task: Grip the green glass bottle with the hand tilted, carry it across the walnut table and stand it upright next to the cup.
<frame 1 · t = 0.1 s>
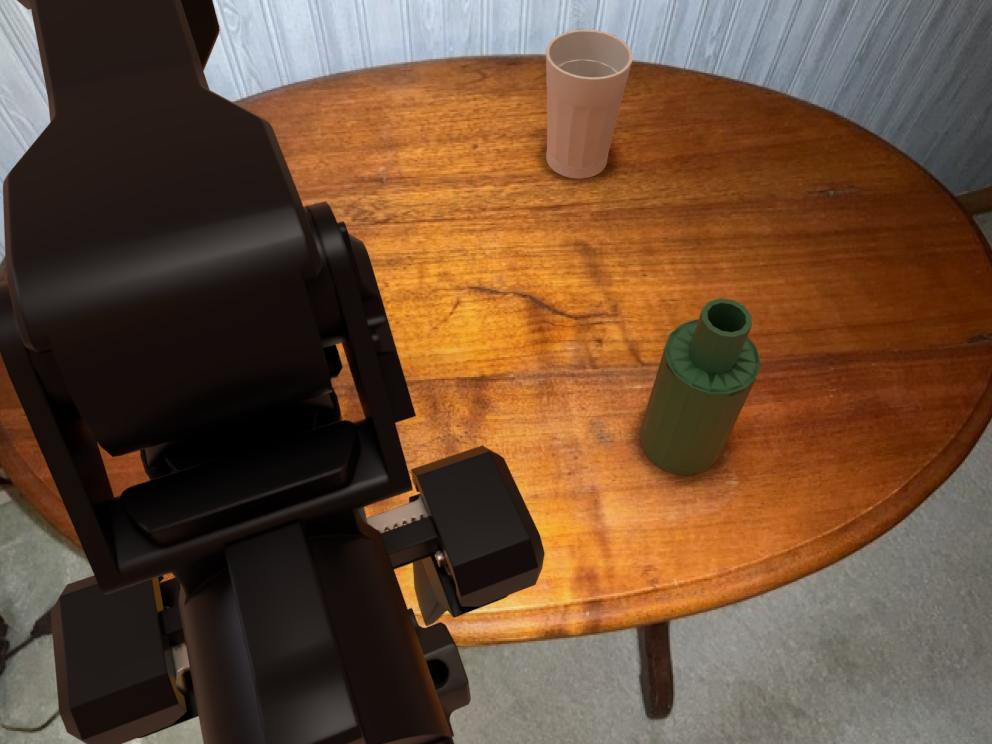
hand: (336, 650, 40), 15 cm above the table, tool pointing down, fingers open, 9 cm apart
bottle: (680, 439, 65), on the table
cup: (576, 159, 85), on the table
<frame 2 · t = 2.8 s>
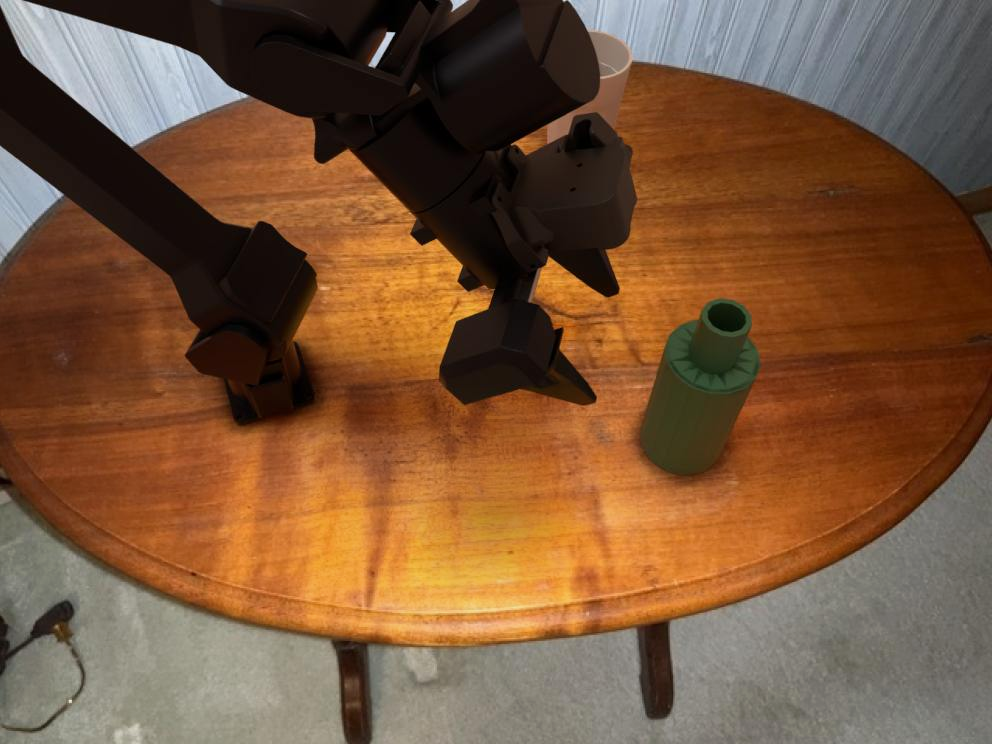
hand: (602, 345, 53), 14 cm above the table, tool tilted 40°, fingers open, 9 cm apart
nothing on the table moved.
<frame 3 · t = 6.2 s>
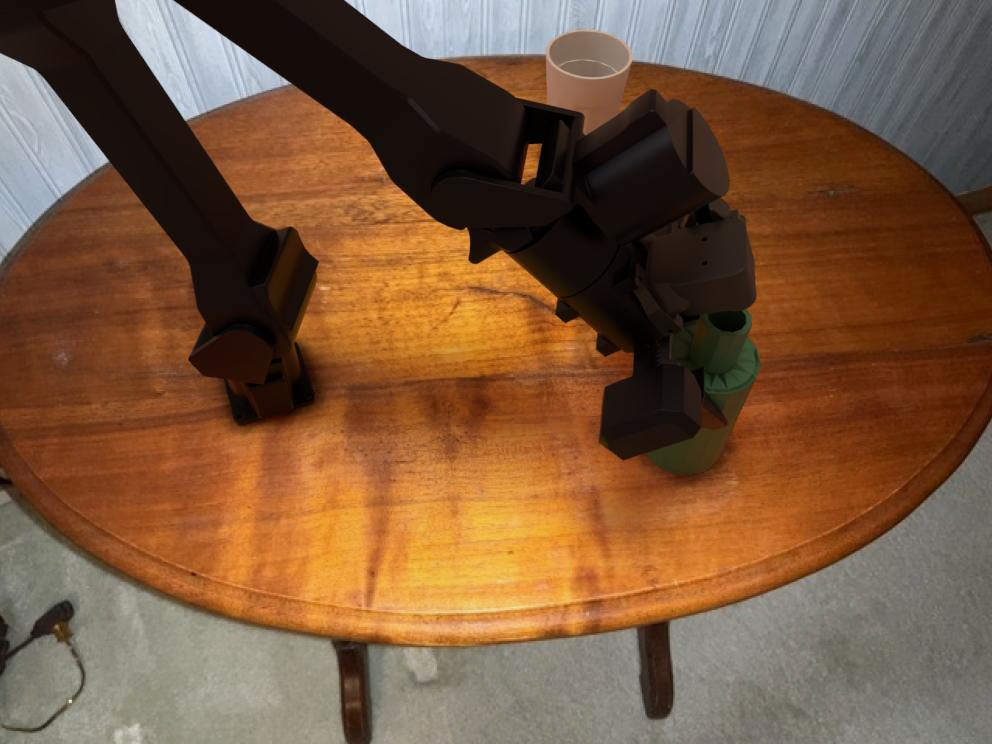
hand: (721, 386, 59), 8 cm above the table, tool tilted 45°, fingers closed on bottle, 6 cm apart
bottle: (680, 439, 65), on the table, touching gripper
everything else where it was.
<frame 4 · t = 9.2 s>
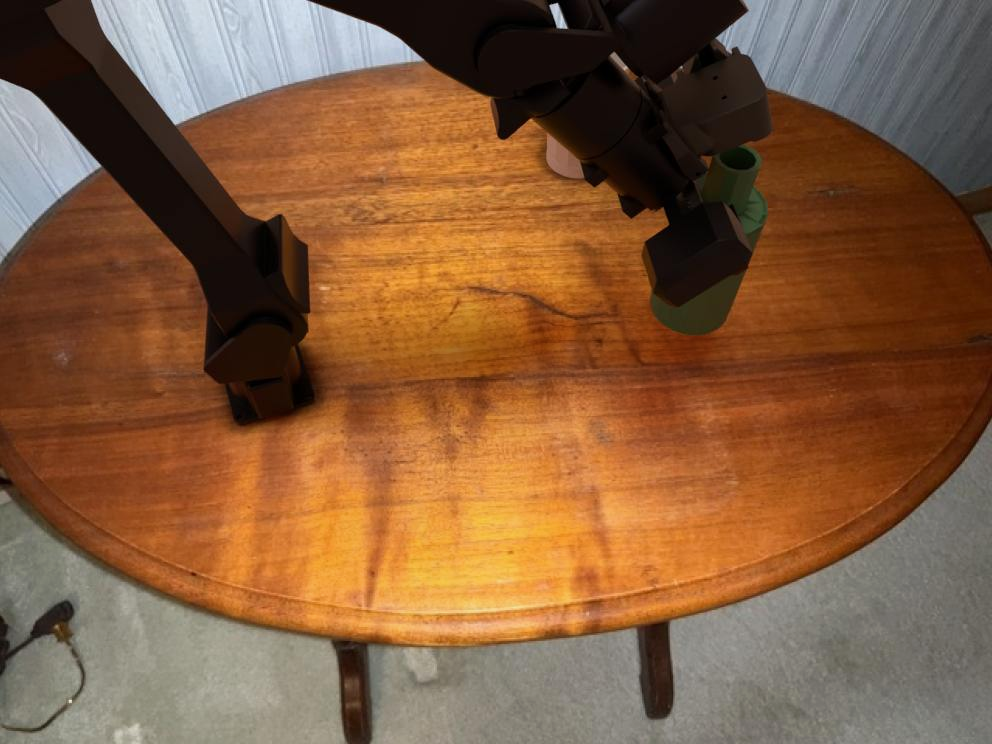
hand: (728, 237, 61), 12 cm above the table, tool tilted 45°, fingers closed on bottle, 6 cm apart
bottle: (688, 305, 67), point 5 cm above the table, touching gripper
everything else where it was.
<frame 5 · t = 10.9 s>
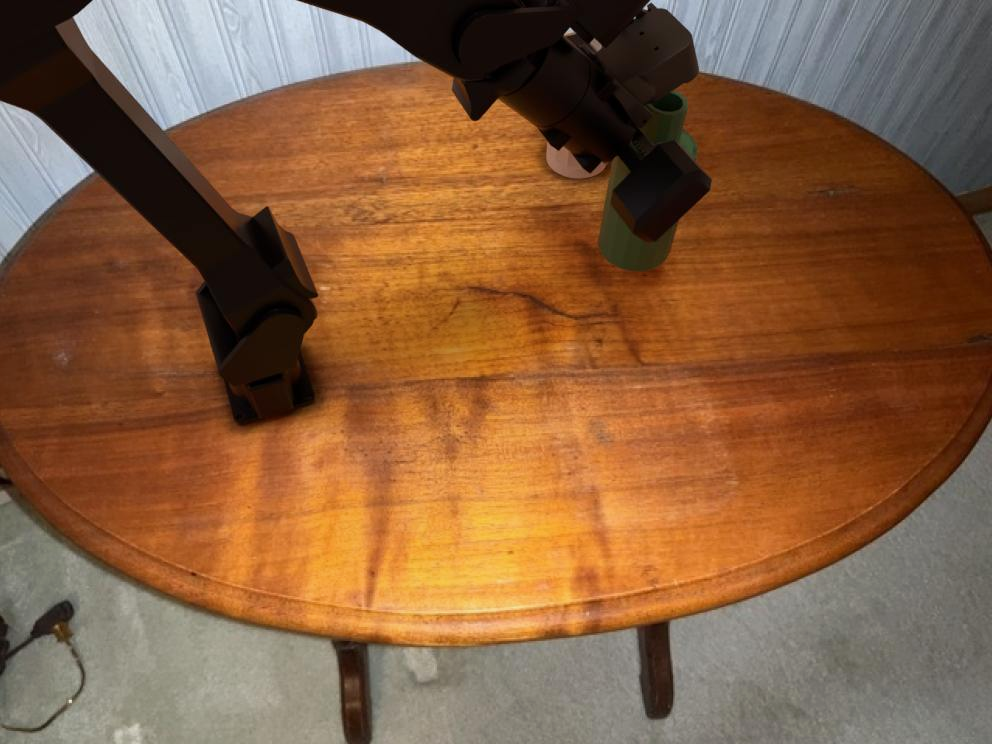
hand: (663, 175, 68), 11 cm above the table, tool tilted 45°, fingers closed on bottle, 6 cm apart
bottle: (633, 245, 73), point 3 cm above the table, touching gripper
everything else where it was.
when the fingers open (8 cm above the table, at t = 12.3 s): bottle stays where it is, on the table.
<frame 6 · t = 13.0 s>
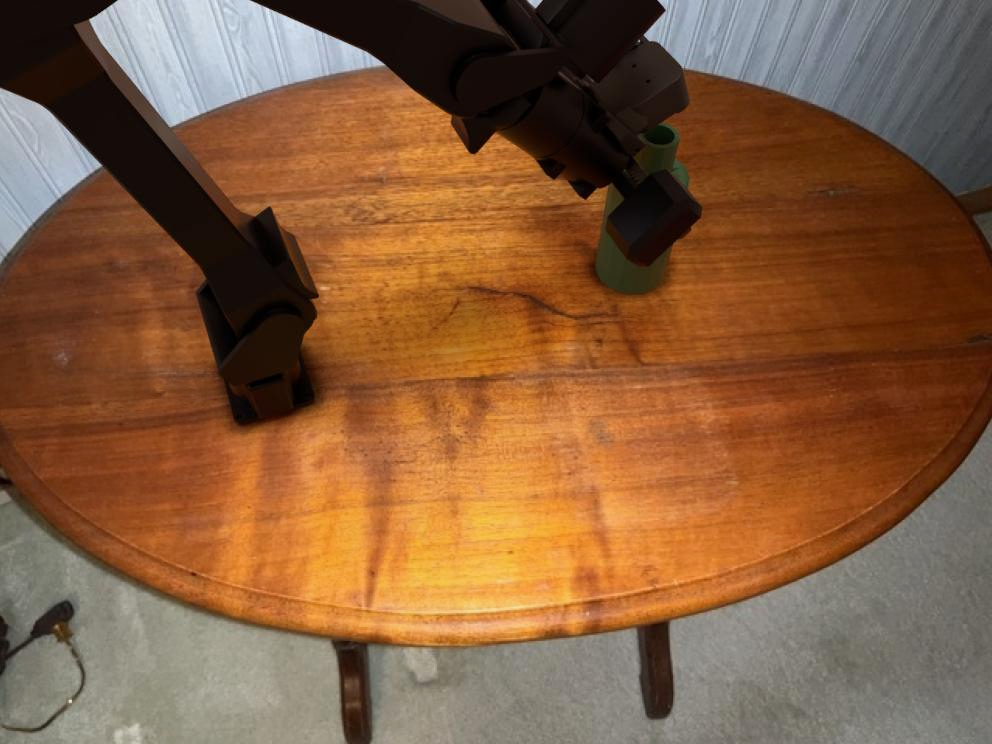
hand: (657, 197, 70), 8 cm above the table, tool tilted 45°, fingers open, 9 cm apart
bottle: (629, 268, 76), on the table
everything else where it was.
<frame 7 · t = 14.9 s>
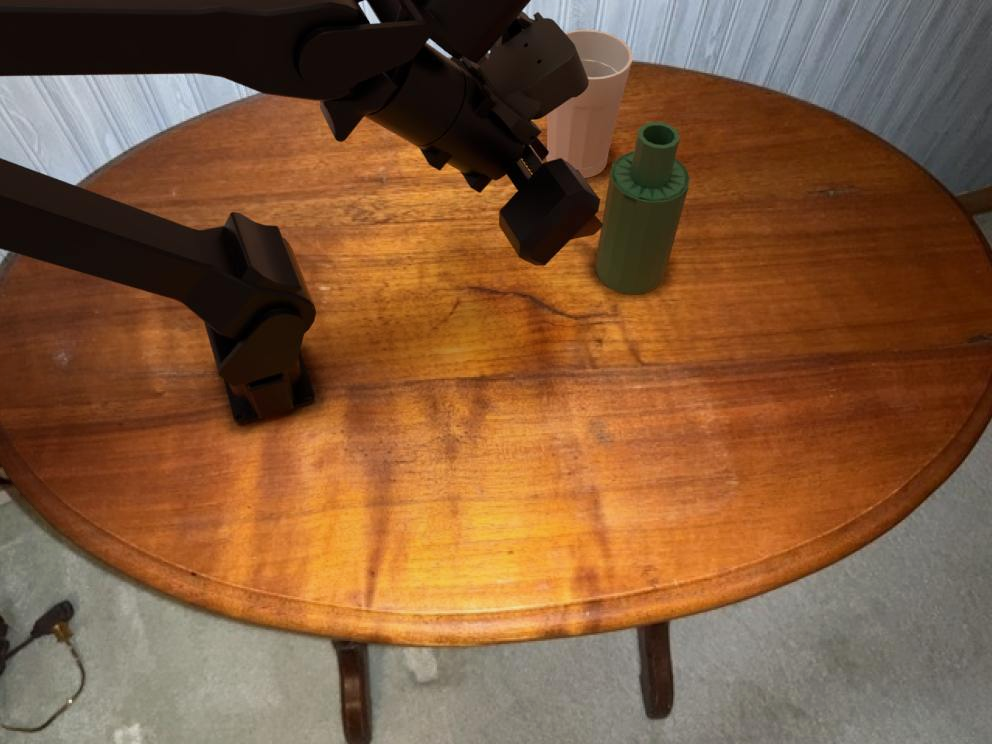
hand: (570, 191, 64), 12 cm above the table, tool tilted 45°, fingers open, 9 cm apart
nothing on the table moved.
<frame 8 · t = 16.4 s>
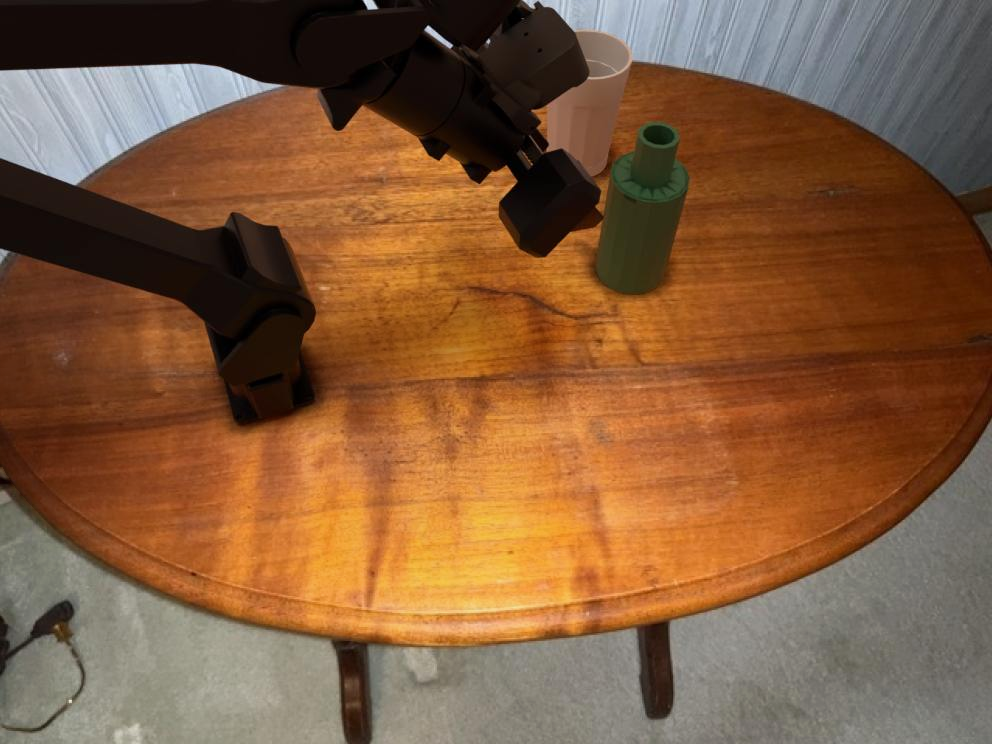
hand: (570, 183, 64), 13 cm above the table, tool tilted 45°, fingers open, 9 cm apart
nothing on the table moved.
at the end: bottle inside the target area on the table beside the cup (0.1 cm from its centre), on the table; bottle tilted 0°; the gripper is holding nothing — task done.
